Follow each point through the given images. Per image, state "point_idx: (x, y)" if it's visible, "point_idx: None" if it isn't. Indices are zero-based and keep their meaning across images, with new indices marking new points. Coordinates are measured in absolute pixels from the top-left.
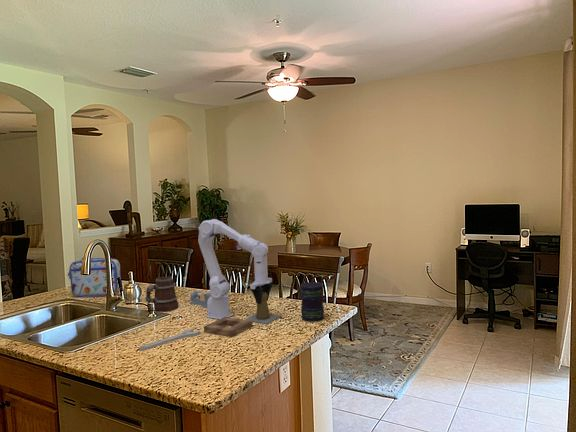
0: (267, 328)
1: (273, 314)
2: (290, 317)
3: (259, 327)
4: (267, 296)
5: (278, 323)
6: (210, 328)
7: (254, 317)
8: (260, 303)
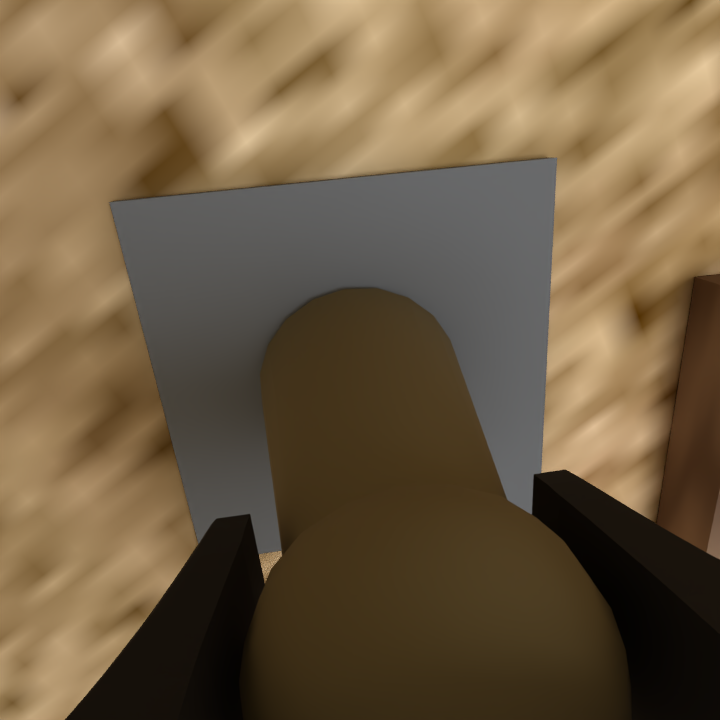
0: (708, 25)
1: (156, 345)
2: (48, 14)
3: (696, 172)
4: (352, 533)
5: (436, 11)
6: None
7: None
8: (562, 471)
